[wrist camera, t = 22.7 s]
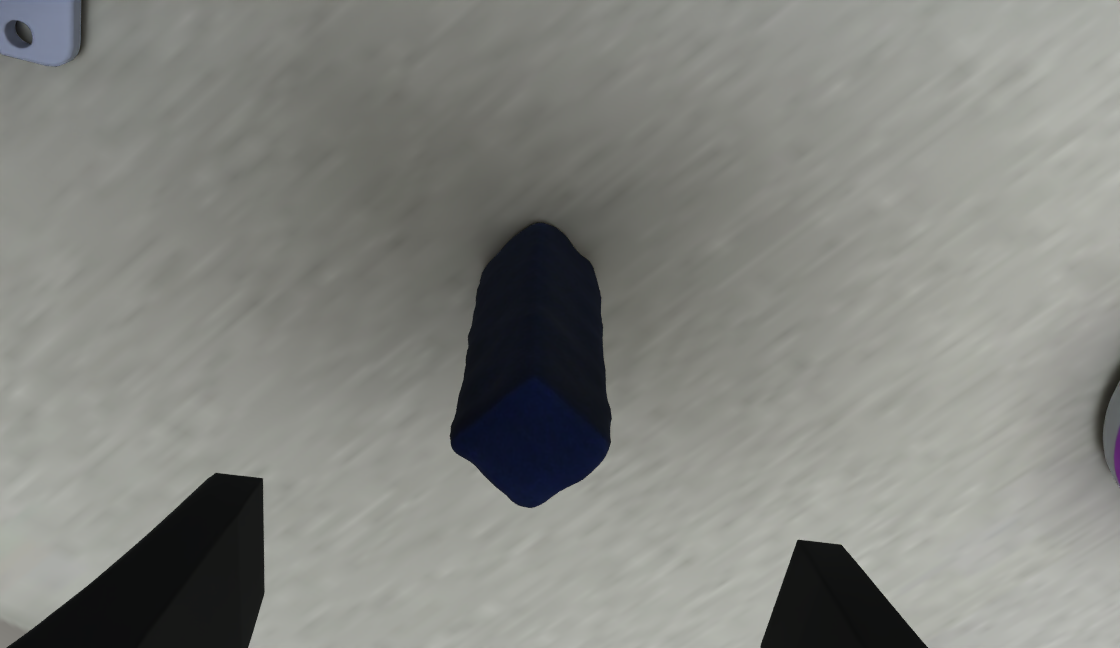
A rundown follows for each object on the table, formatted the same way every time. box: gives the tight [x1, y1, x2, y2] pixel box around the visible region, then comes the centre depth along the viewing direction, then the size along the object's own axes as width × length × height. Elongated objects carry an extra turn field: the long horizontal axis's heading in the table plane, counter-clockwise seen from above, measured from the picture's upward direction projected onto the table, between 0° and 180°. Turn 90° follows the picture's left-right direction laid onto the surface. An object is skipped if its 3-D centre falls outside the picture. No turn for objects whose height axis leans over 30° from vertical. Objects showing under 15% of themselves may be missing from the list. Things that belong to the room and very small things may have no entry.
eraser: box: [450, 223, 612, 508], centre depth 18 cm, size 2×2×7 cm
